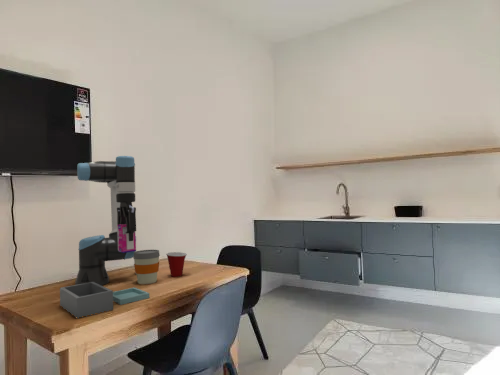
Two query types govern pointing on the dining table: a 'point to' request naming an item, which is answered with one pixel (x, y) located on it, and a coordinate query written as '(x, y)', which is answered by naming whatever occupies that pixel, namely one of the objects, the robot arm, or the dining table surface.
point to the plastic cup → (176, 263)
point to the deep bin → (86, 299)
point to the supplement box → (124, 239)
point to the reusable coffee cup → (146, 266)
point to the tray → (129, 295)
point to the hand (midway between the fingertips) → (126, 248)
